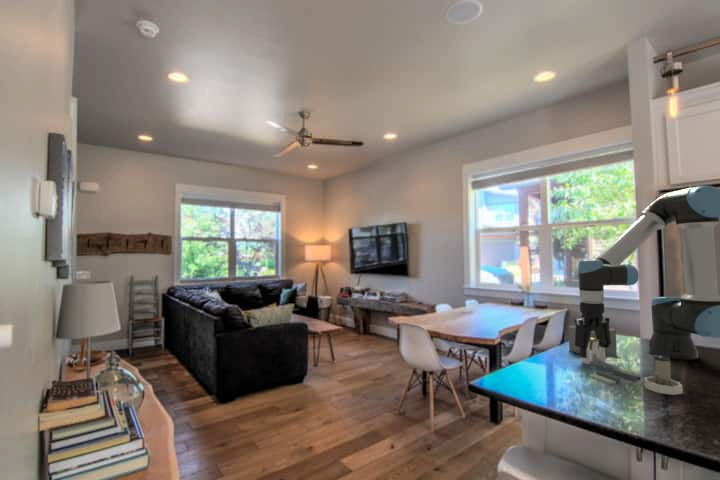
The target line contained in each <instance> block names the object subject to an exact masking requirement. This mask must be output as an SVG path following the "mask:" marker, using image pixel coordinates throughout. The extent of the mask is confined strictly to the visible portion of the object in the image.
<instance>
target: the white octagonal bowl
mask: <svg viewBox="0 0 720 480" xmlns="http://www.w3.org/2000/svg"><path fill="white" fill-rule="evenodd" d="M643 379H644V382H643V386H644V388H645V389H646V390H650V391H653V392H655V393H657V394H664V395H673V396H676V395H682V394H683V393H684V392H683V391H684V390H683V389H684V388H683V385H682V384H681V382H680V381H677V380H673V379H671V386H666V385H658V384H655V376H651V375H650V376H645V377H643Z"/></svg>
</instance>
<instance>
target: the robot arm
mask: <svg viewBox="0 0 720 480" xmlns="http://www.w3.org/2000/svg"><path fill="white" fill-rule="evenodd" d="M638 217H639V218H638V219H636V220H635V222H633V223H632V224H631V225H630V226H629V227H628V228H627V229H626V230H625V231H624V232H623V233H622V234H620V236H618V237H617V238H616V239H615V240H614V241H613V242H612V243H611V244H610V245H608V246H607V248H606V249H604V251H603V252H601V253H600V254H599V255H598V256H597V257H596V258H595V259H581V260H579V261H578V270H577V271H578V272H577V273H578V285H579V286H578V288H579V290H578V291H579V312H581V317H580V318H575V319H574V323H575V326H576V333H575V346H577V347H579V348H580V355H579V357H581V363H583V364H586V365H590V364H591V363H590V355H589V349H587V347H588V343H589V339H590V334H591V331H593V329H594V331H595V334H596V338H598V339H599V354H600V363H601V362H602V363H606V360H607V359H606V357H607V356H606V347H607V348H608V347H609V345H610V344H611V340H610V331H609V329H610V319H611V318H609V317H606V316H604V315H603V314H605V304H604V301H605V296H604V295H605V294H604V293H605V292H604V286H624V287H625V286H626V287H627V286H632V285H635V284H636V283H638V281H639V279H640V275H639V271H638V269H637V267H636V266H634V265H632V264H622V263H623V262H624V261H626V260H627V259H628V258H629V257H630V256H631V255H632V254H633V253H635V251H636V250H637V249H638V248H640V246H641V245H643V244H644V243H645V242H646V241H647V240H649V238H650V237H651V236H652V235H654V233H656V232H657V230H658V231H659V230H663V229H665V227H667V225H669V224H671V223H674V222H675V225H676V226H677V227H679V228H680V229H681V239H682V257H683V272H684V275H683V276H684V289H685V293H684V294H682V296H655V297H652V299H651V306H650V307H651V322H652V334H651V338H650V340H649V343H648V345H647V348H648V349H647V350H648V353H650V354H651V355H653V356H654V355H663V356H667V357H670V359H675V360H684V361H685V360H697V359H699V351H698V350H697V347H696V345H695V343H694V340H693V338H692V334H693V335H697V336H701V337H704V338H712V339H720V295H719V294H718V293H719V292H718V291H719V290H718V277H717V262H716V260H717V259H716V247H715V246H716V245H715V231H714V230H715V229H714V228H715V227H716V226H717V225H718V224H719V223H720V189H719V188H717V187H716V186H713V185H700V186H699V185H697V186H693V187H688V188H683V189H679V190H673V191H669V192H667V193H664V194H663V195H661V196H659V197H658V198H656V199H655V200H653V201H652V202H651V203H650V204H648V205H647V206H646V208H644V209H643V210H642V211H641V212H640V213H639V215H638ZM587 327H588V328H587ZM606 340H607V341H606ZM583 344H584V345H583Z"/></svg>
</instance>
